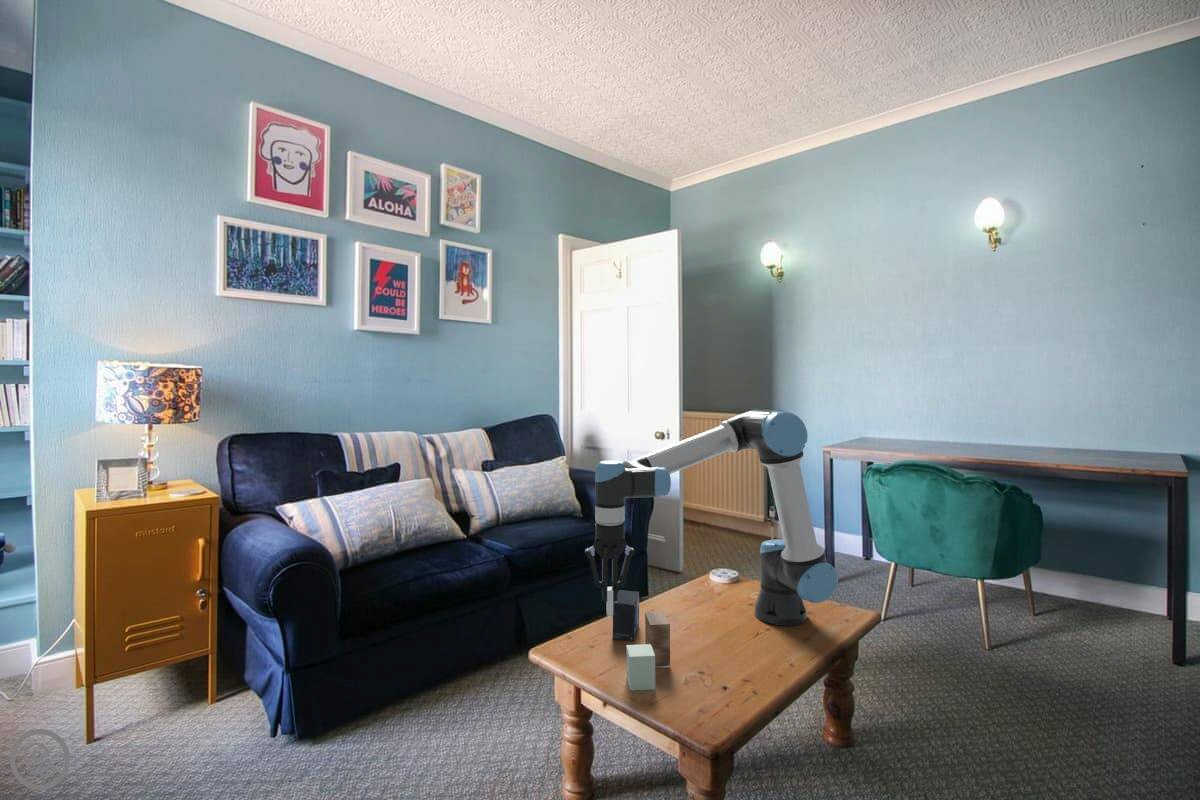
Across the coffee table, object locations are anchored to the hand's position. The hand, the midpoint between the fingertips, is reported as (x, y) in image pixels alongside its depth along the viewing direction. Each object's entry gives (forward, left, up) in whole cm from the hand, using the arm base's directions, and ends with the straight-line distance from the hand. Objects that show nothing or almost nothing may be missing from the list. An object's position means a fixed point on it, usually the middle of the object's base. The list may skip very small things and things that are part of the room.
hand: (609, 613), depth 149 cm
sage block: (-6, +11, -13) cm, 18 cm away
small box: (-6, -17, -13) cm, 22 cm away
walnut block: (-12, 0, -13) cm, 18 cm away
